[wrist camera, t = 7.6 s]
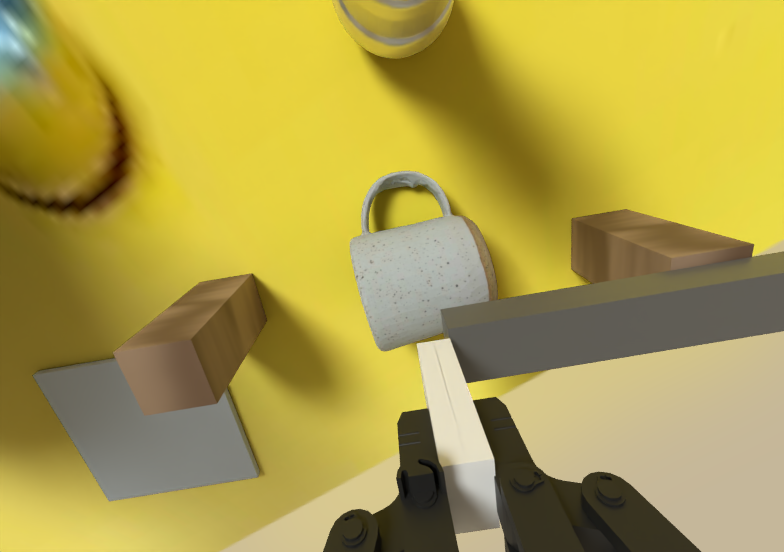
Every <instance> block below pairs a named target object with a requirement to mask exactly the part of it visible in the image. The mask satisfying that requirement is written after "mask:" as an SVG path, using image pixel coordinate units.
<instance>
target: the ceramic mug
mask: <svg viewBox="0 0 784 552" xmlns="http://www.w3.org/2000/svg"><path fill="white" fill-rule="evenodd" d="M418 185H421V186H424V187H425V188H426V189H428V190H429V191H430V192H432V193H433V195H434V196H435V198H436V200H437V201H438V203H439V205H440V207H441V209H442V213H443V216H444V217H440V218H435V219H431V220H427V221H424V222H420V223H416V224H412V225H407V226H402V227H397V228H393V229H387V230H384V231H378V232H375V233H371V232H369V212H370V207H371V204H372V202H373V199H374V197H375V196H376V195H377V194H378V193H380V192H382V191H383V190H385V189H391V188H397V187H404V186H409V187H412V188H414V187H417V186H418ZM361 224H362V235H360V236H358V237H355V238H353V239H351V241H350V253H351V258H352V264H353V269H354V273H355V278H356V281H357V285H358V289H359V293H360V297H361V301H362V304H363V307H364V311H365V313H366V317H367V320H368V323H369V326H370V328H371V331H372V334H373V337H374V340H375V343H376V345H377V347H378V348H379V349H380V350H381V351H389V350H392V349H395V348H398V347H401V346H404V345H407V344H410V343H413V342H416V341H420V340H423V339H426V338H429V337H433V336H436V335H438V334H441V333H443V326H442V318H441V311H440V309H446V308H451V307H457V306H463V305H469V304H475V303H481V302H487V301H493V300H497V298H498V290H497V281H496V276H495V272H494V267H493V264H492V260H491V257H490V253H489V251H488V248H487V246H486V243H485V241H484V238H483V236H482V234H481V232H480V230H479V229H478V227H477V225H476V224H475V223H474V222H473V221H471V220H470V219H468V218H466V217H464V216H454V215H453V214H452V213H451V209H450V205H449V202H448V199H447V198H446V196H445V193H444V191H443V190H442V189H441V187H440V186H439V185H438V184H437V183H436V182H435V181H434V180H433V179H431V178H430V177H428V176H426V175H424V174H421V173H419V172H414V171H401V172H395V173H390V174H388V175H386V176H383V177H381V178H379V179H378V180H377V181H376V182H375V183H374V184H373V185H372V186H371V188H370V189H369V191H368V193H367V195H366V197H365V200H364V202H363V207H362V214H361Z"/></svg>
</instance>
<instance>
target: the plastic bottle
mask: <svg viewBox="0 0 784 552" xmlns="http://www.w3.org/2000/svg"><path fill="white" fill-rule="evenodd" d="M332 1H333V5H334V8H335V11H336V13H337V16H338V18H339V20H340V22H341V24H342V25H343V27H344V28H345V30H346V32H347V33H348V34H349V35H350V36H351V37H352V38H353V39H354V41H355V42H357V43H358V44H359V45H361V46H362V47H363V48H365V49H366V50H367V51H369V52H371V53H373V54H375V55H377V56H381V57H385V58H394V59H399V58H404V57H409V56H411V55H414V54H416V53H418V52H421V51H422V50H424V49H425V48H427V47H428V46H429V45H431V44H432V43H433V42H434V41H435V40H436V39H437V37H438V36H439V35H440V34H441V32H442V31H443V29H444V27H445V26H446V24H447V22H448V19H449V17H450V14H451V12H452V7H453V2H454V0H332Z"/></svg>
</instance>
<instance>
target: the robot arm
mask: <svg viewBox="0 0 784 552" xmlns="http://www.w3.org/2000/svg"><path fill="white" fill-rule="evenodd" d="M417 349H418V355H419V362H420V368H421V374H422V381H423V387H424V394H425V399H426V404H427V409H421V410H415V411H408V412H402V414H401V416H400V419H399V421H398V423H397V425H398V439H399V454H400V468H399V469H398V472H397V477H396V479H397V484H398V488H399V495H398V496H397V498H396V499H395V501H393V502H392V504H390V505H389V506H388V507H386V508H384V509H383V510H381V511H379V512H377V513H375V514H373V515H372V514H371V513H370V512H368V511H365V510H362V509H356V510H351V511H348V512H347V513H344V514H343V515H342V516H340V518H338V519H337V520H336V521H335V523H334V525H333V527H332V529H331V531H330V534H329V536H328V539H327V542H326V545H325V548H324V551H323V552H459V550H458V546H457V541H456V536H455V534H459V533H466V532H473V531H480V530H487V529H493V528H499V527H500V525H499V519H500V523H501V525H502V529H503V532H504V539H505V551H506V552H701V551H700V550H699V549H698V548H697V547H696V546H695V545H694V544H692V542H691V541H689V540H688V539H687V538H686V537H685V536H684V535H683V534H682V533H681V532H680V531H679V530H678V529H677V528H676V527H675V526H673V524H671V523H670V522H669V521H668V520H667V519H666V518H665V517H664V516H663V515H662V514H661V513H660V512H659V511H658V510H657V509H656V508H655V507H653V506H652V505H651V504H650V503H649V502H648V501H647V500H646V499H645V498H644V497H643V496H642V495H641V494H640V493H639V492H638V491H637V490H635V489H634V488H633V487H632V486H631V485H630V484H629V483H627V482H626V481H625V480H623V479H622V478H620V477H618V476H616V475H613V474H611V473H605V472H595V473H590V474H589V475H587V476H586V477H585V478H584V479H583V481H582V483H575V482H568V481H562V480H558V479H555V478H552V477H550V476H548V475H546V474H545V473H544V472H543V471H542V470H541V469H539V468H538V467H536V465H535V463H534V462H533V460H532V458H531V456H530V454H529V452H528V450H527V448H526V446H525V444H524V442H523V440H522V438H521V436H520V434H519V431H518V429H517V428H516V426H515V423H514V421H513V419H512V418H511V415H510V413H509V411H508V409H507V407H506V405H505V404H503V403H502V402H501V401H500V400H499V399H498V398H496V397H493V398H486V399H480V400H472V397H471V394H470V392H469V389H468V386H467V384H466V381H465V378H464V375H463V373H462V370H461V367H460V365H459V362H458V359H457V356H456V354H455V351H454V348H453V346H452V343H451V340H450V338H449V339H443V340H436V341H430V342H424V343H417Z"/></svg>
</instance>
